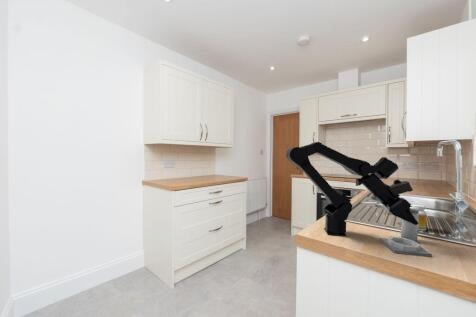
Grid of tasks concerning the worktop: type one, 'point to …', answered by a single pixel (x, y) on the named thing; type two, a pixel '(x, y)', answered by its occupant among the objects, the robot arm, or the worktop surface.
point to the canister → (410, 227)
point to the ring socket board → (404, 246)
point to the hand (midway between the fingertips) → (412, 220)
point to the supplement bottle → (421, 216)
